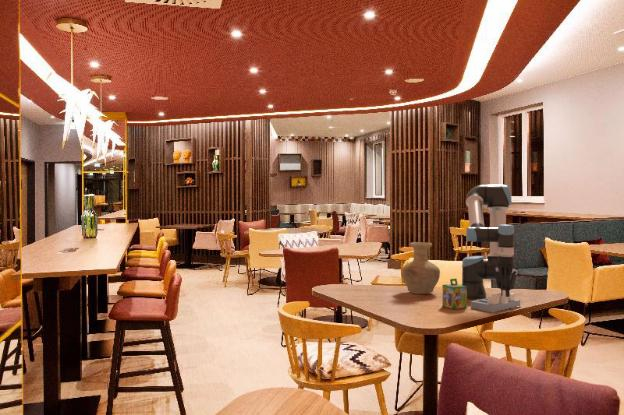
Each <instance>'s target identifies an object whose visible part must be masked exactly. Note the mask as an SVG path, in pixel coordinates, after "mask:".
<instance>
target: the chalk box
mask: <svg viewBox="0 0 624 415" xmlns="http://www.w3.org/2000/svg"><path fill="white" fill-rule="evenodd" d="M449 281H450V284H449V283H448V284H442V301H441V302H442V303H441V304H442V308H447V309H452V310H462V309H467V305H468V304H467V303H468V299H467V286H463V285H462V284H458V279H457V278H450V279H449ZM453 282H455V283H453Z"/></svg>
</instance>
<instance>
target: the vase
mask: <svg viewBox="0 0 624 415" xmlns="http://www.w3.org/2000/svg"><path fill="white" fill-rule="evenodd" d="M409 246H410V247H411V248H413V260H412V261H409V262H408V263H406V264H405V265H403V266H402V268H401V278H402V280H403V282H404V284H405V286H406V288H407V291H408V292H409V293H411V294H414V295H415V294H416V295H427V294H433V292H434V289H435V287H436V286H437V284H438V283H439V280H440V276H441V270H440V268H439V267H438V266H437V265H436V264H435V263H433V262H430V261H429V259H428V257H429V255H428V250H429V249H430V248H432V246H433V244H432V243H431V242H422V241H421V242H420V241H419V242H418V241H417V242H414V241H413V242H410V243H409Z"/></svg>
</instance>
